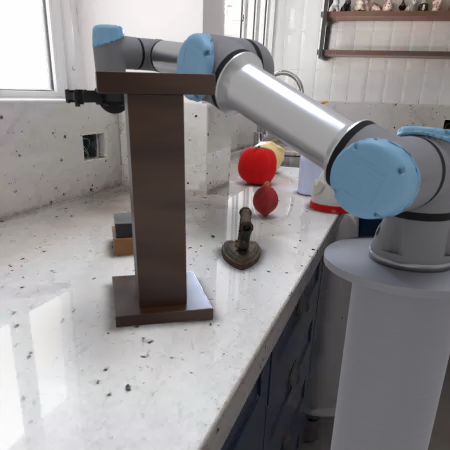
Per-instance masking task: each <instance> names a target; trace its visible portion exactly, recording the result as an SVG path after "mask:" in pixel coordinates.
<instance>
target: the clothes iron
mask: <svg viewBox="0 0 450 450" xmlns="http://www.w3.org/2000/svg"><path fill="white" fill-rule="evenodd" d="M238 214H239V222H238V223H239V224H238V231H237V232H238V233H237V239H229V240H228V239H227V240H226V241H224V242H223V243H222V245H221V256H222V258H223V259H224V261H225V262H226V263H228V264H229V265H230V266H232V267H234V268H235V269H238V270H246V269H248V268H250V267H252V266H253V265H255V264H256V263H257V262H258V261H259V259H260V257H261V254H262V253H261V252H262V247H261V245H260V244H259V243H258V241H256V240H251V237H252V233H253V231H254V230H255V229H254V228H255V227H254V224H253V223H252V215H253V211H252V209H251V208H250V207H249V206H243V207H241V208H240V209H239V211H238Z"/></svg>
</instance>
